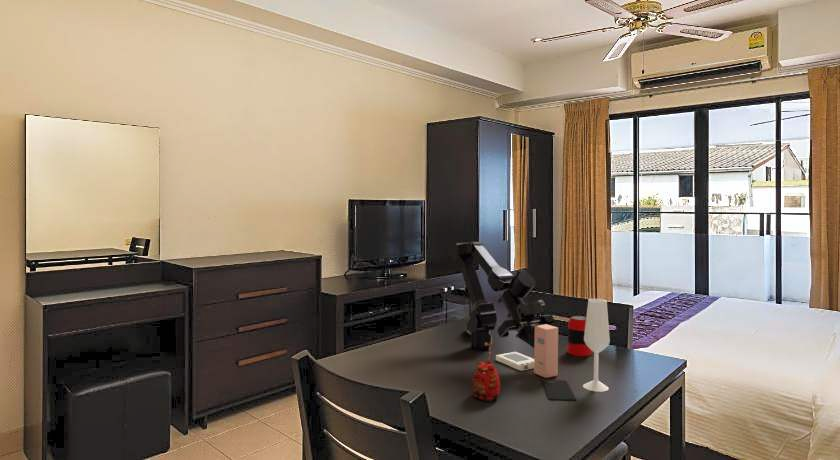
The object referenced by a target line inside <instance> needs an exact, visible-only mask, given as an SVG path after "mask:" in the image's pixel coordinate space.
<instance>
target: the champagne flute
mask: <svg viewBox="0 0 840 460" xmlns="http://www.w3.org/2000/svg"><path fill="white" fill-rule="evenodd" d="M587 300H588V301H587V306H586V307H587V308H586V316H585V317H586V324H585V333H584V342H585V344H586V345H587V346H588V347H589V348H590V349H591V352H593V356H594V357H593V380H591V381H589V382H586V383H584V384H583V385H582V387H583V388H584V389H586V390H587V391H591V392H597V393H600V392H601V393H602V392H606V391H609V387H608V386H607V385H606V384H604V383H602V382H601V381H600V380H599V360H600V359H599V355H600V353H601V352H602V351H604V350H605V349H607V347H609V345H610V344H611V343H610V342H611V339H610V326H609V324H610V323H609V314H608V311H609V310H608V301H607V300H606V299H602V298H589V299H587Z"/></svg>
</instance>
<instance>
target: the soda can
mask: <svg viewBox="0 0 840 460" xmlns="http://www.w3.org/2000/svg"><path fill="white" fill-rule="evenodd" d="M585 324H586V316H581V315H578V316H577V315H575V316H571V317H570V319H569V320H568V321H567V353H568V354H569V355H571V356H576V357H589V356H590V355H591V354H592V350H591V349H590V348H589V347H588V346H587V345H586V344H585V342H584V333H585Z"/></svg>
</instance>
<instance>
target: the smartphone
mask: <svg viewBox="0 0 840 460" xmlns="http://www.w3.org/2000/svg"><path fill="white" fill-rule="evenodd" d="M540 382H541V384H542V387H543V389H544V392H545V395H546V398H547V400H548V401H555V402H556V401H562V402H564V401H565V402H577V397H576V396H575V394H574V392H573V390H572V389H571V386H570V385H569V383H568V380H564V379H541V381H540Z"/></svg>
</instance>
